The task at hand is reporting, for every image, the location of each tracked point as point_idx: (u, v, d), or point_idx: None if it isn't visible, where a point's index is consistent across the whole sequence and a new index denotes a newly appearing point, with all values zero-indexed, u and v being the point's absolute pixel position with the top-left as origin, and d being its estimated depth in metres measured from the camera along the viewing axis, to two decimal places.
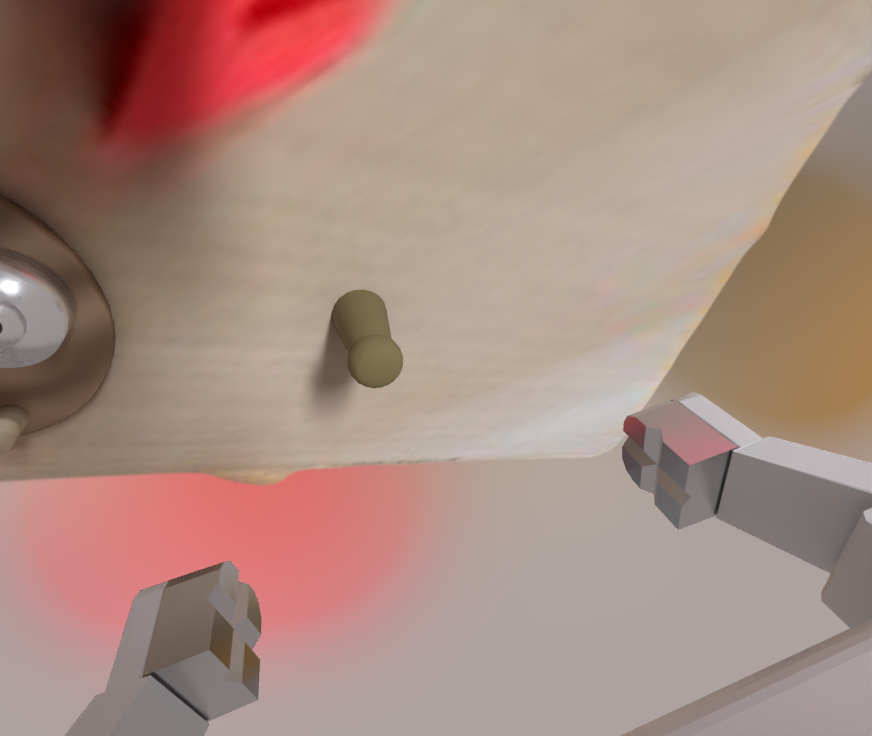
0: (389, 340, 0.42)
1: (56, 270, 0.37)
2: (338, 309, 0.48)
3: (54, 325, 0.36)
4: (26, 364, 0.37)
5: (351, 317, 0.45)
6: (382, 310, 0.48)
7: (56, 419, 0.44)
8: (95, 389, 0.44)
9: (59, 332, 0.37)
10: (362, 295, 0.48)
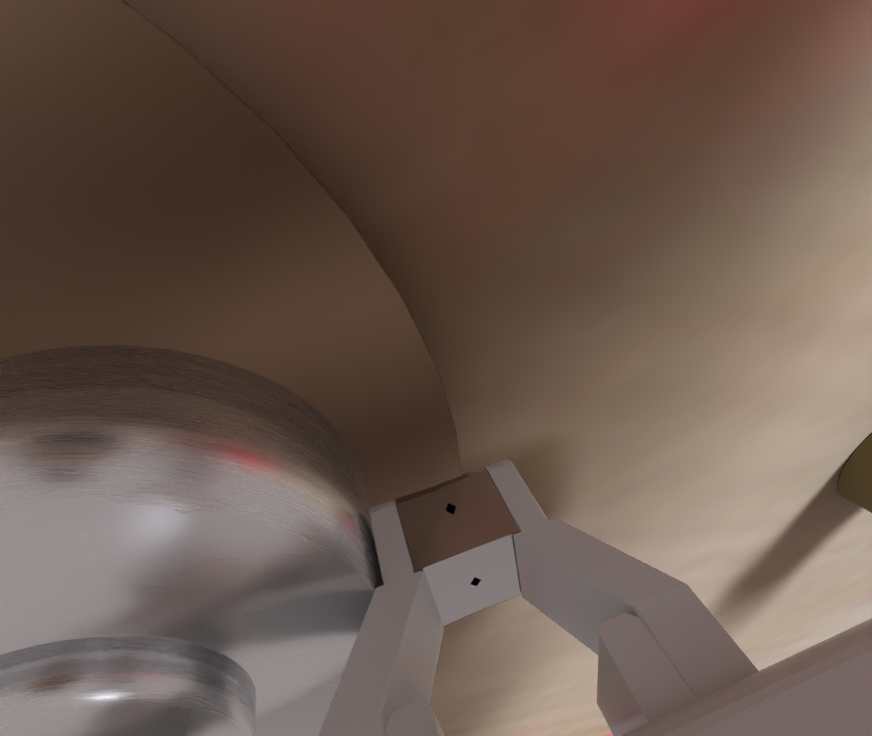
0: None
1: (379, 409, 0.09)
2: None
3: None
4: None
5: None
6: None
7: None
8: None
9: None
10: None
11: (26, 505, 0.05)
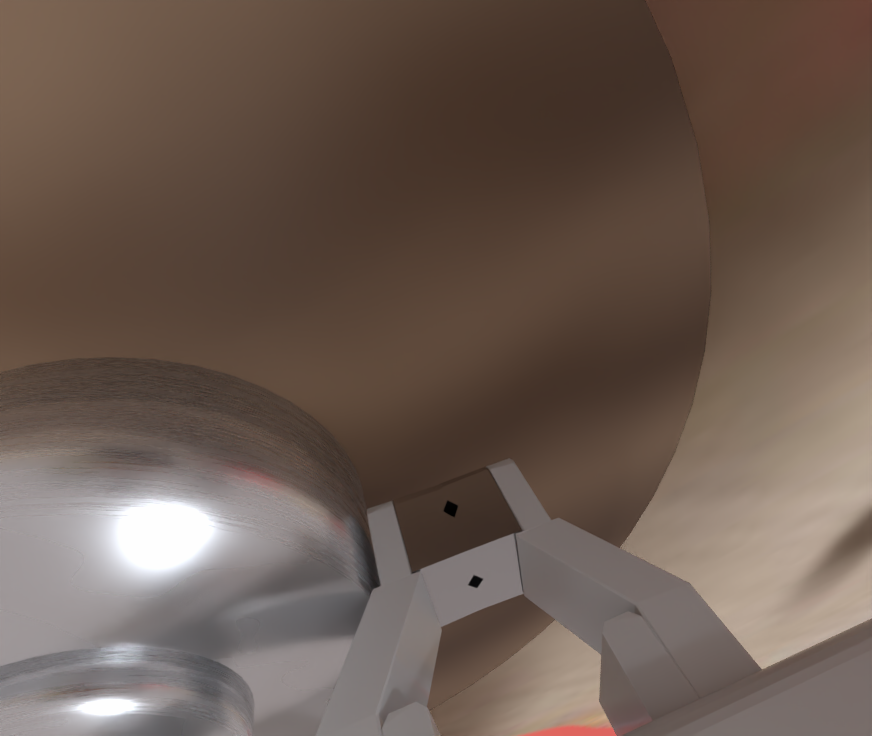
0: None
1: (656, 324, 0.10)
2: None
3: None
4: None
5: None
6: None
7: None
8: (532, 636, 0.16)
9: None
10: None
11: (12, 522, 0.05)
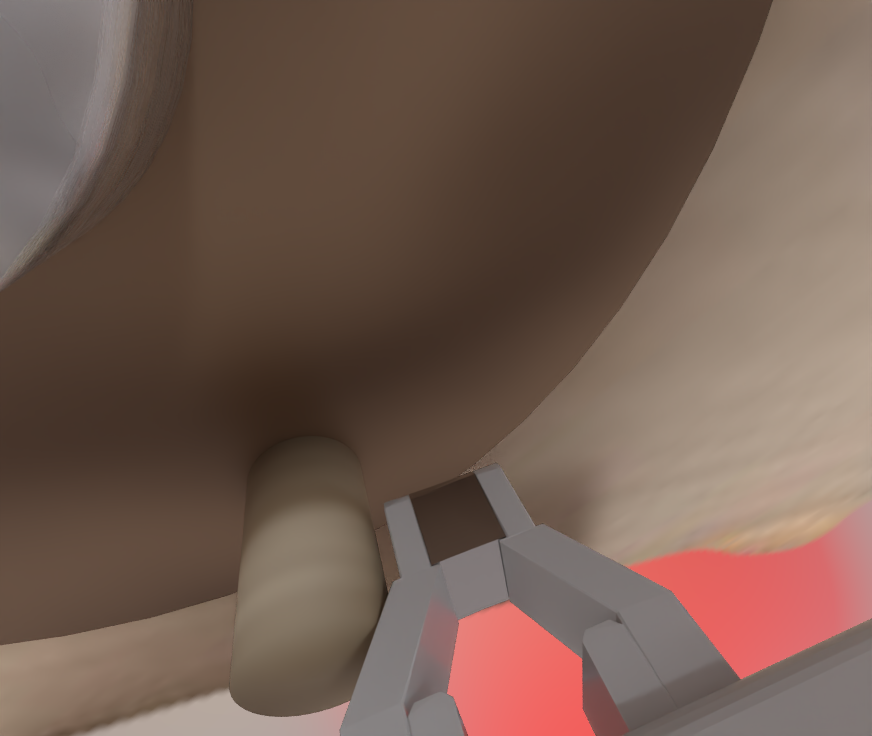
0: None
1: None
2: None
3: None
4: None
5: None
6: None
7: (445, 473, 0.11)
8: (606, 318, 0.10)
9: None
10: None
11: None
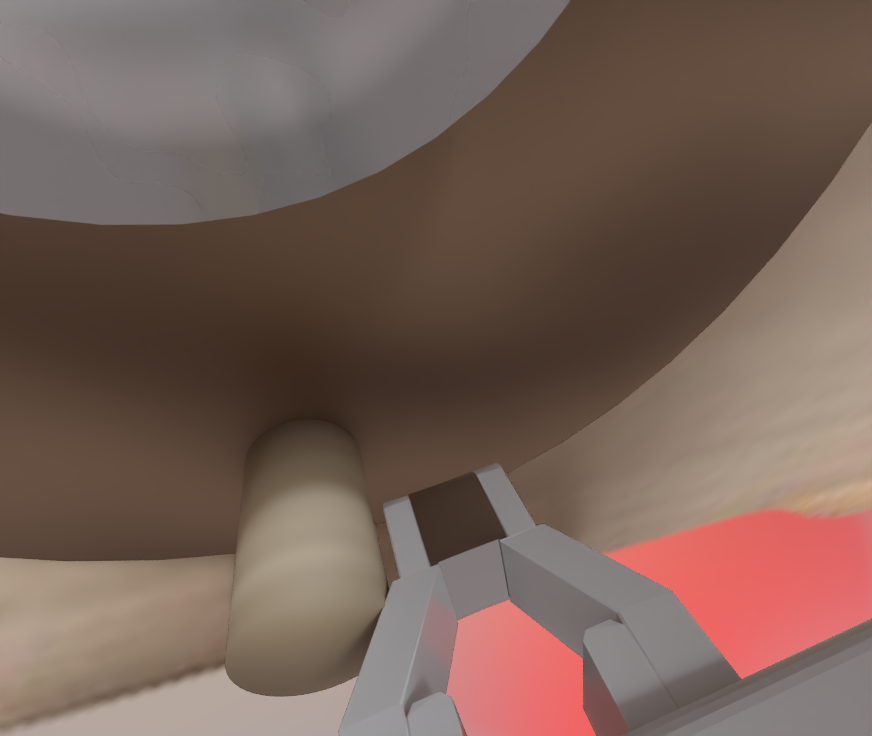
0: None
1: None
2: None
3: None
4: (131, 204, 0.04)
5: None
6: None
7: None
8: (603, 409, 0.12)
9: None
10: None
11: None
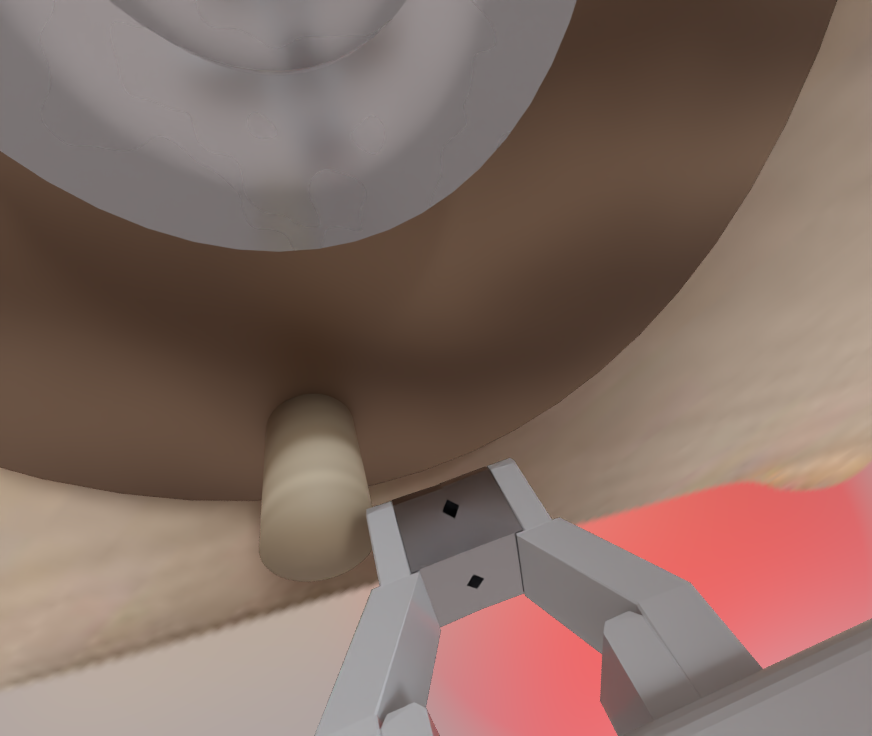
0: None
1: None
2: None
3: (512, 63, 0.07)
4: (255, 239, 0.07)
5: None
6: None
7: (400, 469, 0.14)
8: (546, 406, 0.15)
9: (503, 116, 0.07)
10: None
11: None
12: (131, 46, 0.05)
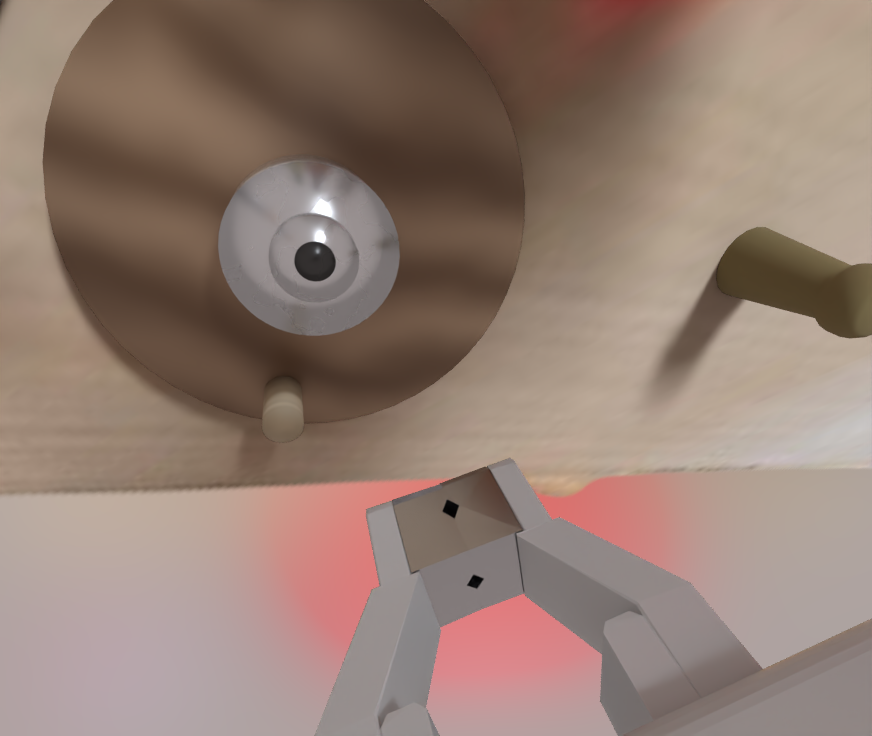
0: None
1: (495, 272, 0.31)
2: (743, 249, 0.37)
3: (371, 302, 0.25)
4: (292, 330, 0.25)
5: (786, 252, 0.35)
6: None
7: (316, 419, 0.32)
8: (388, 405, 0.33)
9: (367, 312, 0.26)
10: (772, 232, 0.37)
11: (366, 185, 0.22)
12: (278, 287, 0.24)
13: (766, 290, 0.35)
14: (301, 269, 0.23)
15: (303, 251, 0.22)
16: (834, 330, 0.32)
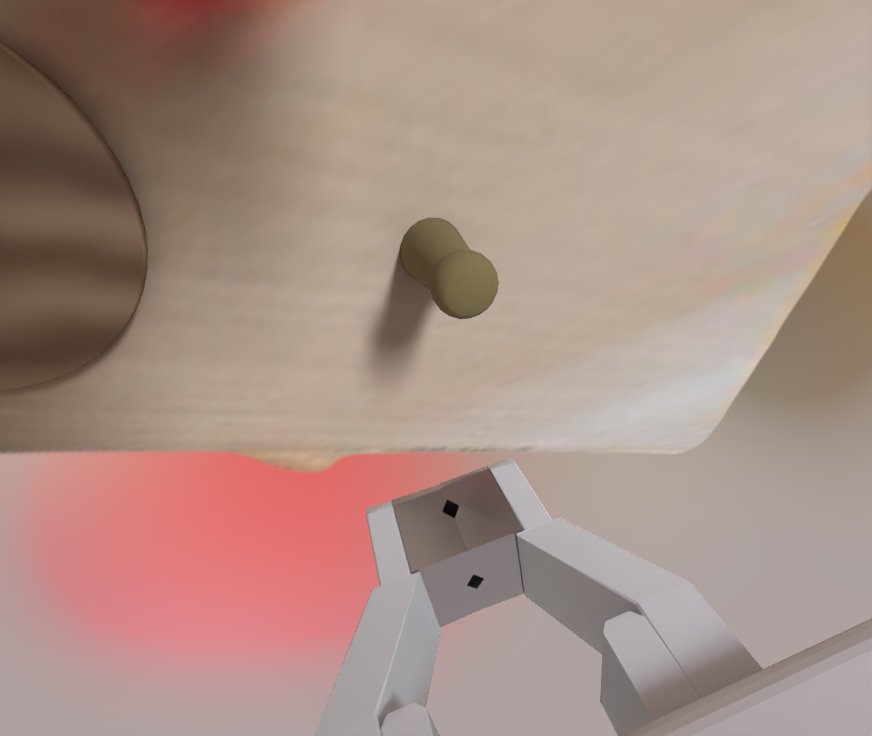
0: None
1: (120, 254, 0.33)
2: (409, 238, 0.40)
3: None
4: None
5: (428, 240, 0.37)
6: (462, 238, 0.40)
7: None
8: (51, 377, 0.36)
9: None
10: (438, 222, 0.40)
11: None
12: None
13: (418, 275, 0.38)
14: None
15: None
16: (443, 311, 0.35)
